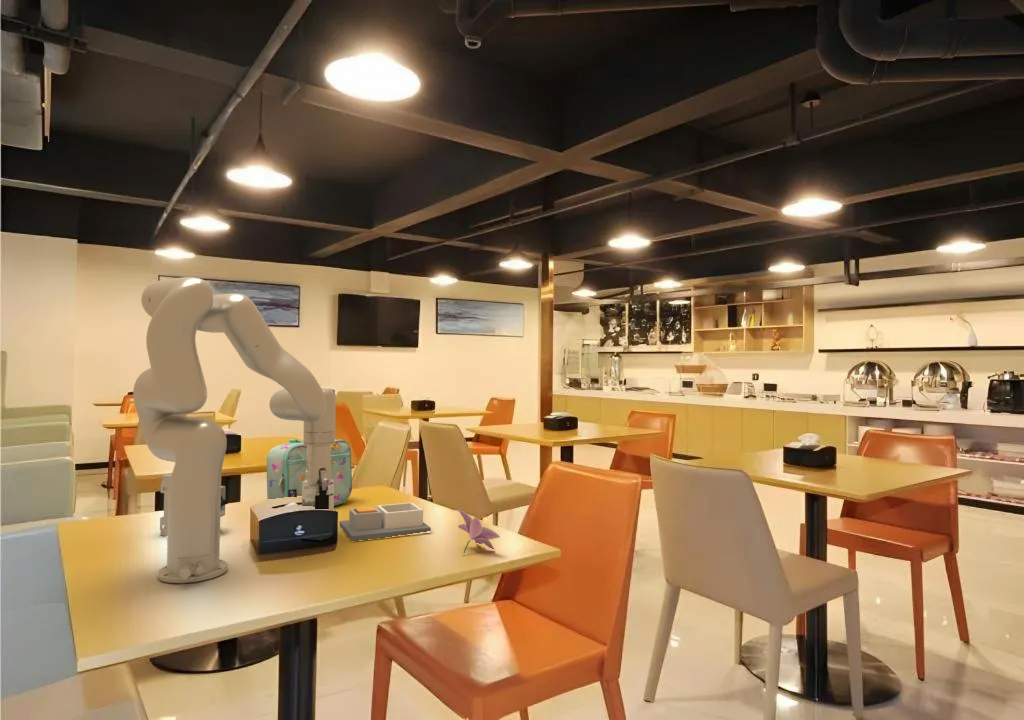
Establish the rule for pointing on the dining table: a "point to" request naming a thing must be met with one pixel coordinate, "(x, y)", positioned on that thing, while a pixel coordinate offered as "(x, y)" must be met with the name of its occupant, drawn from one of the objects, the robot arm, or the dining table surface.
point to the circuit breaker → (165, 519)
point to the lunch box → (290, 470)
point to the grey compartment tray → (385, 522)
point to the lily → (477, 530)
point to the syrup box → (310, 494)
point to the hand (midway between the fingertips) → (318, 507)
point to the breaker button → (364, 510)
